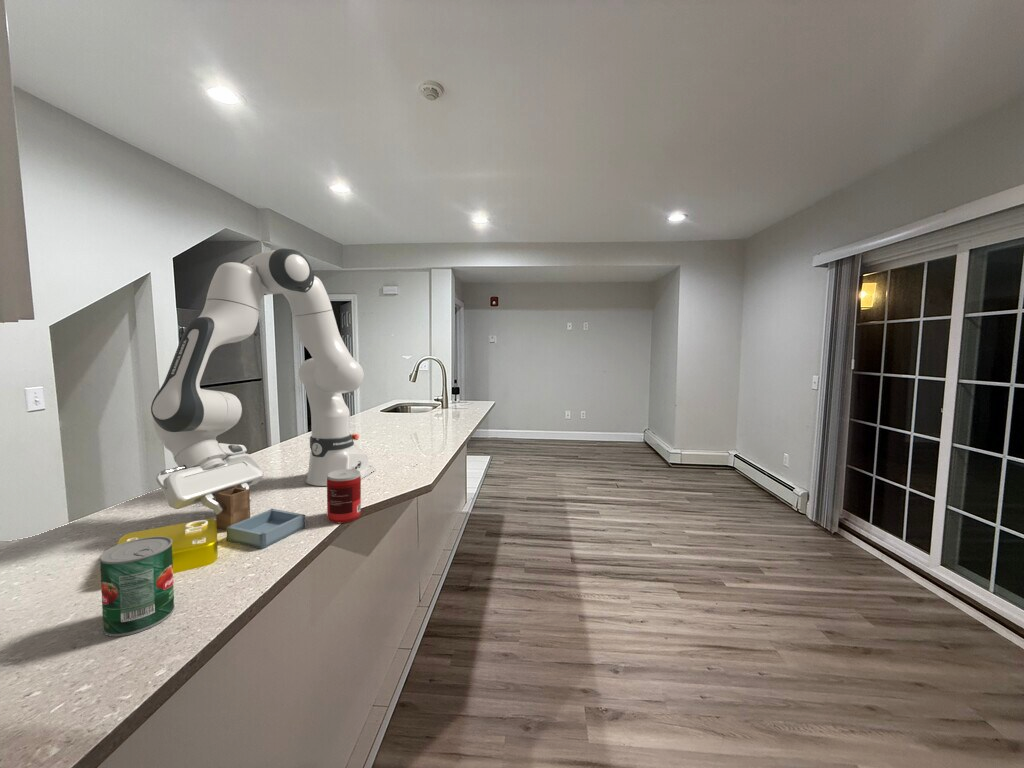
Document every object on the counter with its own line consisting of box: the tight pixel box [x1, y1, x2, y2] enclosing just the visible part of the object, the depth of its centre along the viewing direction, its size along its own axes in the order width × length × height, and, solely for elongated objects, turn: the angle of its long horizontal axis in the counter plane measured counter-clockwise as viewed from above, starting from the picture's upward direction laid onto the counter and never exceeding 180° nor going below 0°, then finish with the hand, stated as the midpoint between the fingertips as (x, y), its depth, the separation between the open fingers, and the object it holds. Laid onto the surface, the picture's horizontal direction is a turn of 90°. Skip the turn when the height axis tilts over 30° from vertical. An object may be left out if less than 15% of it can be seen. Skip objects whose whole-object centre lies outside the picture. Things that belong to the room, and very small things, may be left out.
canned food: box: [326, 469, 362, 524], centre depth 98 cm, size 8×8×11 cm
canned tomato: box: [99, 536, 175, 637], centre depth 59 cm, size 8×8×11 cm
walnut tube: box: [214, 487, 251, 531], centre depth 91 cm, size 5×5×8 cm
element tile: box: [116, 517, 219, 575], centre depth 77 cm, size 15×15×5 cm
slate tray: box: [226, 508, 307, 550], centre depth 88 cm, size 11×10×3 cm
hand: (235, 507), depth 91 cm, fingers closed on walnut tube, 5 cm apart
